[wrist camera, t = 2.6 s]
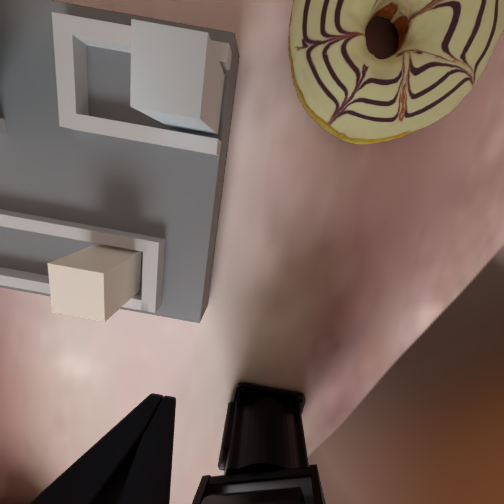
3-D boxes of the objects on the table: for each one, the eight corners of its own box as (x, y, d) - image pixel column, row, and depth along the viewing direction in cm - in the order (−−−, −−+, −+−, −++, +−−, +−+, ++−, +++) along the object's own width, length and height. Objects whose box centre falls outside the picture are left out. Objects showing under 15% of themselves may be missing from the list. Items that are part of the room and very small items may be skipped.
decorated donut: (463, -95, 13) (542, -204, 9) (460, 123, 16) (519, 107, 12) (270, -30, 14) (272, -103, 10) (301, 162, 17) (311, 158, 13)
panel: (239, 55, 15) (228, 7, 11) (207, 306, 20) (191, 340, 16) (-80, -1, 15) (-217, -72, 11) (-27, 264, 20) (-104, 287, 16)
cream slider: (141, 250, 16) (103, 273, 13) (140, 289, 17) (104, 321, 13) (98, 243, 16) (47, 263, 13) (99, 282, 17) (52, 312, 13)
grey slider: (224, 75, 13) (207, 32, 9) (217, 134, 14) (200, 118, 10) (170, 65, 13) (131, 19, 9) (167, 125, 14) (130, 106, 10)
